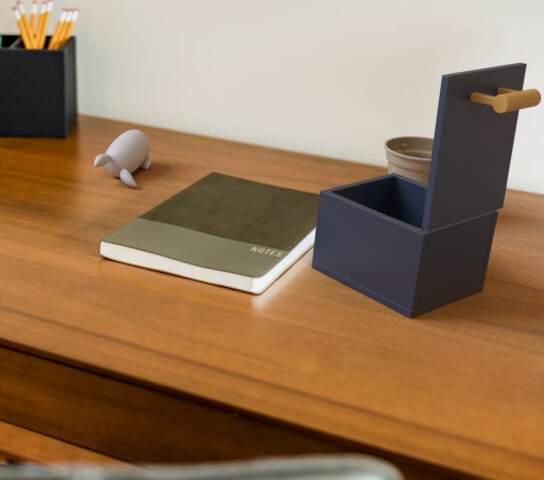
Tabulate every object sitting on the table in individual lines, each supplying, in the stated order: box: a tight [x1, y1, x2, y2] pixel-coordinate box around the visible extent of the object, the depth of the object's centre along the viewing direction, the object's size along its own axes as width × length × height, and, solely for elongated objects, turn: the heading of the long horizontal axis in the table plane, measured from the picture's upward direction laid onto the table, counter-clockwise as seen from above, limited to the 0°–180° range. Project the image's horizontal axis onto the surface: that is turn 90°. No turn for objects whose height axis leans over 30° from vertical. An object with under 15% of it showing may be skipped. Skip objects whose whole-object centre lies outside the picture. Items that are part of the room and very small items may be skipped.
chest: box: [311, 173, 499, 319], centre depth 93 cm, size 14×12×9 cm
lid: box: [422, 62, 542, 231], centre depth 82 cm, size 14×12×5 cm
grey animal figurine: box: [93, 129, 152, 188], centre depth 121 cm, size 6×5×12 cm
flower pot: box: [383, 135, 434, 185], centre depth 111 cm, size 9×9×9 cm
